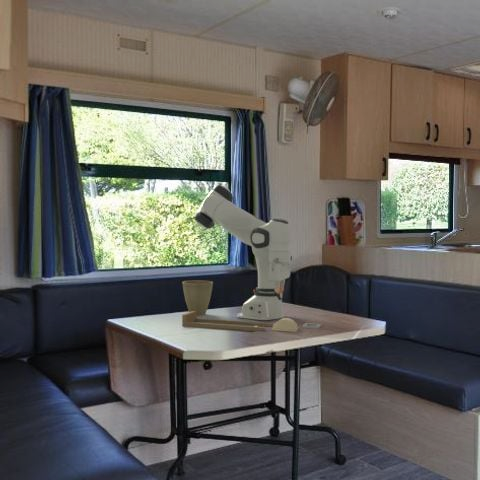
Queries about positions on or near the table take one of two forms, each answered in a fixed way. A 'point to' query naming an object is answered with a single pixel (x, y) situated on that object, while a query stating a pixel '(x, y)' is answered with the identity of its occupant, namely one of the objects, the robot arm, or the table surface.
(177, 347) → the table surface
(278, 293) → the ball
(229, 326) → the lane
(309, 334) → the table surface
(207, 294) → the plant pot
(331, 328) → the table surface
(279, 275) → the robot arm
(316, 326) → the coaster
